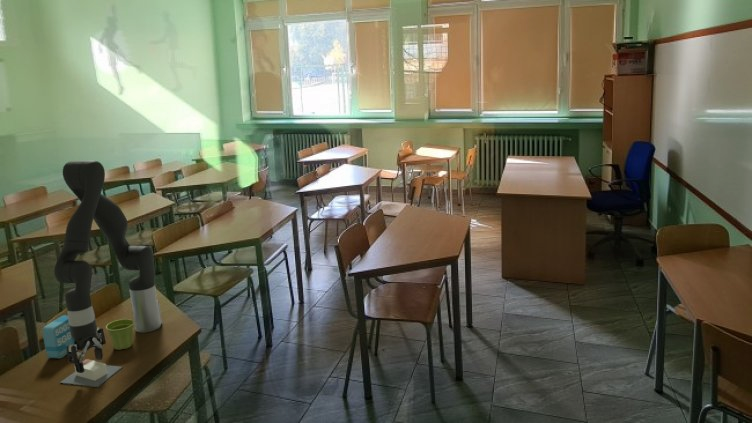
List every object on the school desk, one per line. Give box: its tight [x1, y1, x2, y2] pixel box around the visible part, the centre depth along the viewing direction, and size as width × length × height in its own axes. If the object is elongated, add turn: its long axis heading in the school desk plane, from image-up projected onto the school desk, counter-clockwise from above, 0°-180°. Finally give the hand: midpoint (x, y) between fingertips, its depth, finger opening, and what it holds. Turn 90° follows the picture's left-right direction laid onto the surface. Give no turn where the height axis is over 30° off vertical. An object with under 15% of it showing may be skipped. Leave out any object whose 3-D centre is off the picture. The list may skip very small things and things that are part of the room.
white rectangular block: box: [73, 358, 108, 381], centre depth 182 cm, size 9×5×4 cm, turn 65°
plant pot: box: [105, 318, 135, 350], centre depth 201 cm, size 9×9×9 cm
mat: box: [59, 364, 123, 388], centre depth 183 cm, size 12×14×1 cm
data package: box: [41, 314, 74, 359], centre depth 199 cm, size 12×4×12 cm, turn 170°
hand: (90, 365), depth 182 cm, fingers open, 8 cm apart
